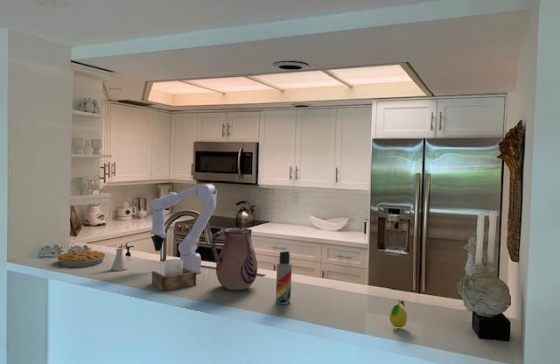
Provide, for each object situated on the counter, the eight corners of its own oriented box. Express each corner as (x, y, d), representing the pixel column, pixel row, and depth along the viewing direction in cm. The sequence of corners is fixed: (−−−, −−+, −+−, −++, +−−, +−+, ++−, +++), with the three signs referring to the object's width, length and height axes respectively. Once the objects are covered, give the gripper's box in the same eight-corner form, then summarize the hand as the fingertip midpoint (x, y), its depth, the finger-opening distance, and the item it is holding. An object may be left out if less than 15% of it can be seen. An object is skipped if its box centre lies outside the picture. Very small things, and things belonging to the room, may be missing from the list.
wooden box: (183, 279, 195) (184, 267, 194) (195, 285, 186) (196, 272, 186) (151, 284, 185) (152, 271, 185) (162, 290, 176) (163, 277, 176)
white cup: (173, 287, 181) (174, 264, 181) (159, 284, 185) (160, 261, 185) (186, 283, 188) (186, 260, 188) (172, 280, 192) (173, 258, 192)
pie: (114, 261, 225) (114, 252, 225) (80, 270, 205) (80, 260, 205) (82, 256, 233) (83, 247, 233) (47, 264, 213) (47, 254, 213)
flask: (130, 269, 209) (130, 248, 209) (117, 272, 203) (118, 251, 203) (120, 267, 213) (121, 247, 213) (107, 269, 207) (108, 249, 207)
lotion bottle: (279, 305, 163) (281, 253, 162) (273, 301, 168) (275, 250, 167) (293, 303, 166) (294, 252, 165) (286, 299, 171) (287, 249, 170)
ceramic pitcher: (265, 288, 185) (267, 230, 184) (227, 298, 169) (229, 235, 168) (238, 280, 197) (240, 225, 196) (200, 288, 181) (202, 229, 180)
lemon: (403, 325, 147) (405, 296, 147) (411, 331, 141) (412, 301, 141) (385, 325, 146) (386, 296, 146) (391, 332, 140) (392, 301, 140)
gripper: (144, 221, 212) (144, 248, 213) (156, 225, 201) (156, 254, 201) (158, 220, 217) (157, 247, 217) (170, 224, 205) (170, 252, 206)
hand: (157, 250), depth 209 cm, fingers closed
